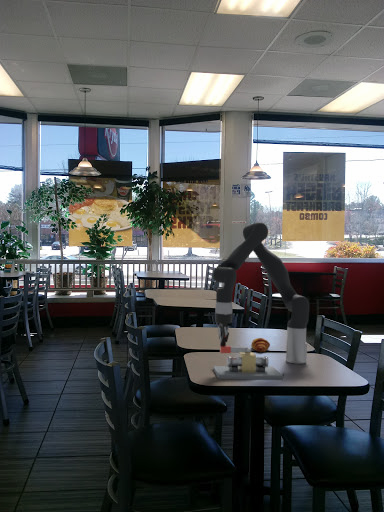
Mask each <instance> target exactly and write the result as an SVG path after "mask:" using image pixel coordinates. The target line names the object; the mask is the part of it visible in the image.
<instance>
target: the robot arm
mask: <svg viewBox="0 0 384 512" xmlns="http://www.w3.org/2000/svg"><path fill="white" fill-rule="evenodd" d="M268 235H269V228H268V226H267V224H266V223H264V222H262V221H257V222H254V223H251V224H249V225H246V226H245V227H244V228H243V229H242V236H243V238H244V241H243V242H242V243H240V245H238V246H237V247H236V248H235V249H234V250H233V251H232V252H231V253H230V254H229V256H228V257H227V259H226V260H224V261H223V262H221V263H220V264H219V265H218V266H216V267H215V268H214V270H213V272H212V273H213V274H212V278H213V281H214V282H215V283H220V284H224V285H223V287H221V288H218V289H217V290H216V294H215V295H216V298H215V300H216V301H215V302H216V303H215V314H214V318H215V319H214V321H215V323H216V324H219V325H218V326H217V333H218V340H219V343H220V344H219V347H220V346H227V344H226V343H227V342H228V341H229V340H228V339H229V336H230V332H229V331H230V329H229V327H228V324H232V322H233V292H234V288H235V284H236V281H237V271H238V270H240V268H241V267H242V266H243V264H244V263H245V261H246V260H247V259H248V257H249V256H250V255H251V253H254V255H255V256H256V257H257V259H258V260H259V262H260V263H261V265H262V267H263V269H264V270H265V272H266V274H267V275H268V277H269V279H270V280H271V282H272V283H273V286H274V287H275V288H276V289H277V291H278V293H279V295H280V297H281V299H282V301H283V303H284V305H285V306H284V307H286V308H287V310H288V311H289V312H291V316H290V317H291V318H290V319H289V320H288V321H287V324H286V326H287V329H286V349H285V350H286V352H285V353H286V355H285V357H286V358H285V362H286V363H289V364H299V365H301V364H307V359H308V358H307V357H308V343H307V341H306V340H307V325H308V322H309V317H310V316H309V315H310V302H309V300H308V299H307V297H305V296H302V295H299V294H298V293H297V292H296V291H295V289H294V287H293V286H292V284H291V281H290V276H289V275H290V274H289V272H288V269H287V267H286V265H285V264H284V262H283V260H282V259H281V258H280V257H279V256H278V255H276V254H275V253H273V252H272V251H271V250H269V249H268V248H267V247H266V246H265V245H264V243H263V241H265V239H266V238H268Z"/></svg>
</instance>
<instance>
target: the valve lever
mask: <svg viewBox="0 0 384 512" xmlns="http://www.w3.org/2000/svg"><path fill="white" fill-rule="evenodd" d="M240 352H245V353H247V354H250V353H251V352H252V348H250V347H248V346H231V345H226V346H220V345H219V353H220V354H231V353H240Z"/></svg>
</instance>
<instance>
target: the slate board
mask: <svg viewBox="0 0 384 512" xmlns="http://www.w3.org/2000/svg"><path fill="white" fill-rule="evenodd" d="M212 370H213V371H214V372H213V373H214V374H215V375H216V376H217V378H218V379H219V380H222V379H223V380H226V379H227V380H237V379H238V380H240V379H241V380H283V379H284V376H283V374H282V373H281V372H280V371H279V370H278V369H276V368H275V367H274V366H268V367H265V372H258V371H257V370H256V368H255V373H245V372H241V371H240V369H239V366H238V372H231V371H230V369H229V367H227V365H226V366H225V365H214V366H212Z"/></svg>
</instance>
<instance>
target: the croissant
mask: <svg viewBox="0 0 384 512" xmlns="http://www.w3.org/2000/svg"><path fill="white" fill-rule="evenodd" d="M250 345H251V349H253V350H254V351H256V352H260V353H263V352H267V351H268V350H269V348H270V347H271V344H270V342H269V341H268V339H265V338H263V337H257V338H255V339H253V340H251V344H250Z"/></svg>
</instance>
